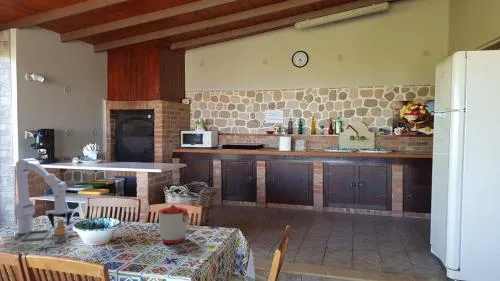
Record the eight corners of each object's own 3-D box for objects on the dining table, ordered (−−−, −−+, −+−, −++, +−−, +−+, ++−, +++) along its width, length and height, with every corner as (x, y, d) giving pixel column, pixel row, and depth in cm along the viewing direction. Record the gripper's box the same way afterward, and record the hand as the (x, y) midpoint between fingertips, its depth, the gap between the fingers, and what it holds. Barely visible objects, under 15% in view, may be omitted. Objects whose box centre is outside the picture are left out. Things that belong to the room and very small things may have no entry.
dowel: (58, 232, 211) (58, 219, 211) (64, 232, 212) (63, 219, 212) (57, 234, 209) (57, 220, 208) (63, 233, 209) (62, 220, 209)
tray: (29, 234, 211) (29, 231, 211) (50, 232, 214) (50, 229, 214) (21, 242, 196) (21, 239, 195) (44, 240, 199) (44, 237, 199)
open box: (56, 233, 212) (56, 226, 212) (67, 232, 214) (67, 225, 214) (54, 236, 207) (54, 229, 207) (65, 235, 209) (65, 228, 208)
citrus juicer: (184, 246, 190) (183, 208, 189) (153, 244, 193) (153, 207, 192) (194, 237, 205) (194, 202, 204) (166, 235, 208) (165, 201, 208)
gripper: (44, 205, 204) (44, 229, 204) (72, 203, 208) (73, 226, 209) (47, 202, 210) (47, 225, 211) (74, 201, 215) (75, 223, 215)
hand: (60, 226), depth 210 cm, fingers open, 7 cm apart
